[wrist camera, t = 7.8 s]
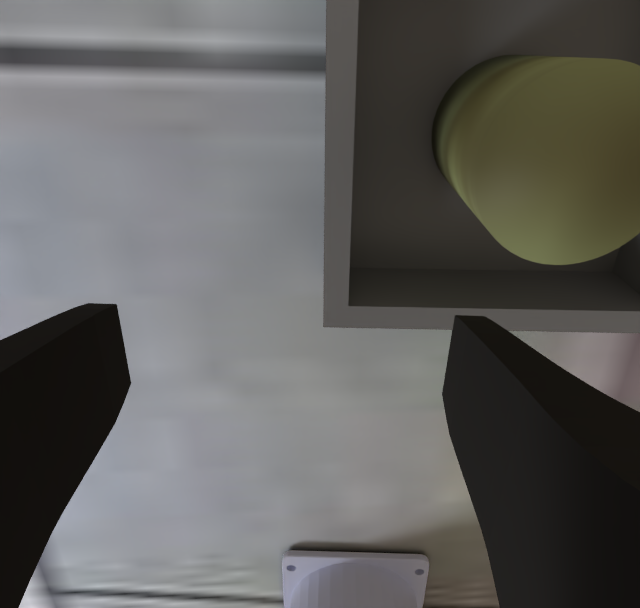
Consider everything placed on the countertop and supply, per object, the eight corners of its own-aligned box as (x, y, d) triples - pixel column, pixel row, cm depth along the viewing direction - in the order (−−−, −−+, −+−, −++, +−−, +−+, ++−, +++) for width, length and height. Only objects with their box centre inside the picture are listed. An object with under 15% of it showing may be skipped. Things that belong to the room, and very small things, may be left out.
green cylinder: (555, 200, 18) (650, 266, 12) (424, 199, 18) (462, 263, 13) (587, 55, 16) (718, 59, 10) (439, 54, 16) (492, 57, 10)
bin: (617, 282, 20) (678, 333, 16) (325, 277, 20) (323, 327, 17) (726, -79, 15) (851, -119, 11) (329, -79, 15) (327, -118, 11)
